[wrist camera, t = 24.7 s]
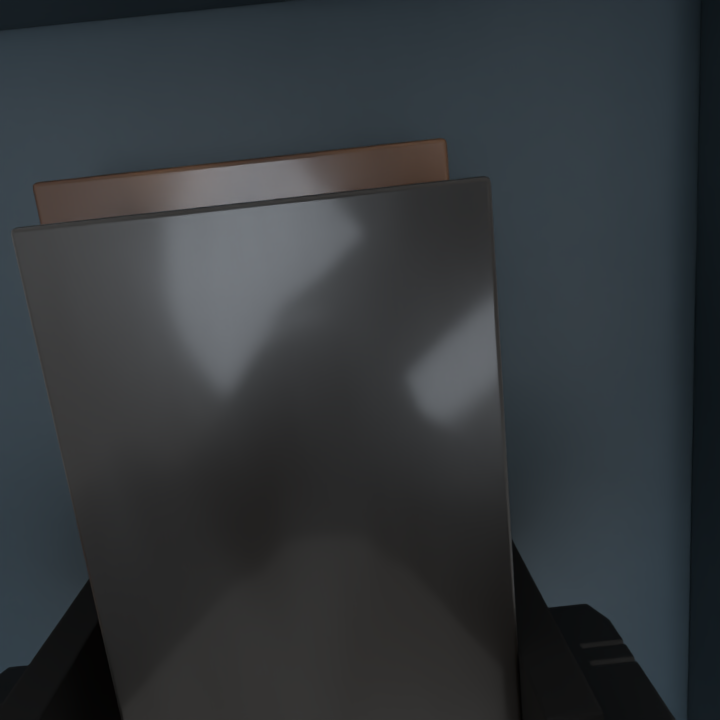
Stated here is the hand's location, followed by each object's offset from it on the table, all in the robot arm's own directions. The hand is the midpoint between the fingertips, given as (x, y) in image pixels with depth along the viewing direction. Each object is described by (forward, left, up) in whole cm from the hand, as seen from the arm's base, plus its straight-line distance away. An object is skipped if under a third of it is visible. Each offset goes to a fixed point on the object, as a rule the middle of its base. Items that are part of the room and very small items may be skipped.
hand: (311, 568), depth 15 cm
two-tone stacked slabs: (0, +4, +2) cm, 4 cm away
